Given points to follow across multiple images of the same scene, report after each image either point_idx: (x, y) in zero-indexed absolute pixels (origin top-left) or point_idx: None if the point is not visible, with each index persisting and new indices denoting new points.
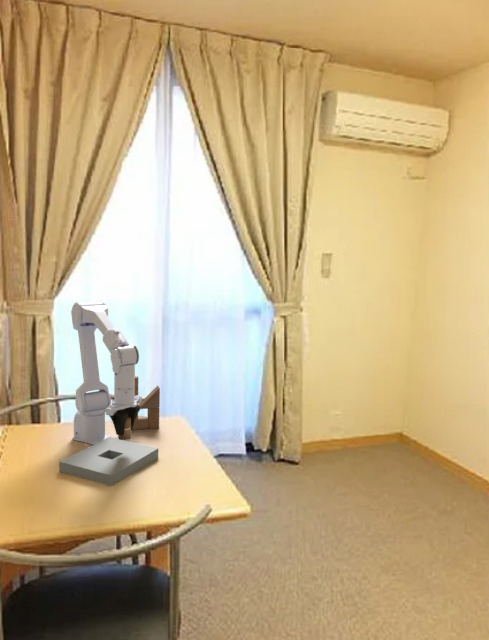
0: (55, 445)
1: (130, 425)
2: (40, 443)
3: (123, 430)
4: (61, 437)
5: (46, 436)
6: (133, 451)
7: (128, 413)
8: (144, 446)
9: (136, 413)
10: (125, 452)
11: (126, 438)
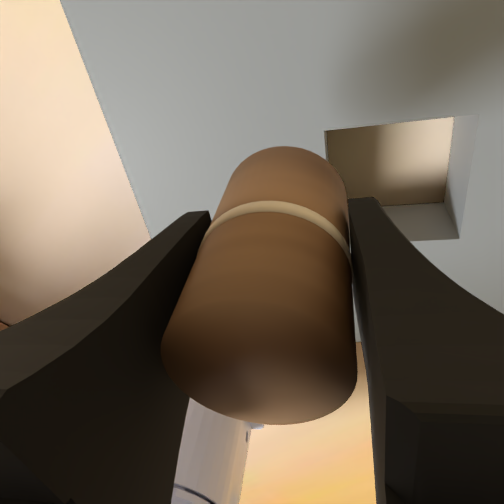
0: (341, 432)
1: (234, 230)
2: (357, 464)
3: (375, 219)
4: (272, 448)
5: (298, 474)
6: (246, 96)
7: (144, 409)
8: (120, 99)
9: (39, 332)
10: (300, 131)
11: (317, 160)
